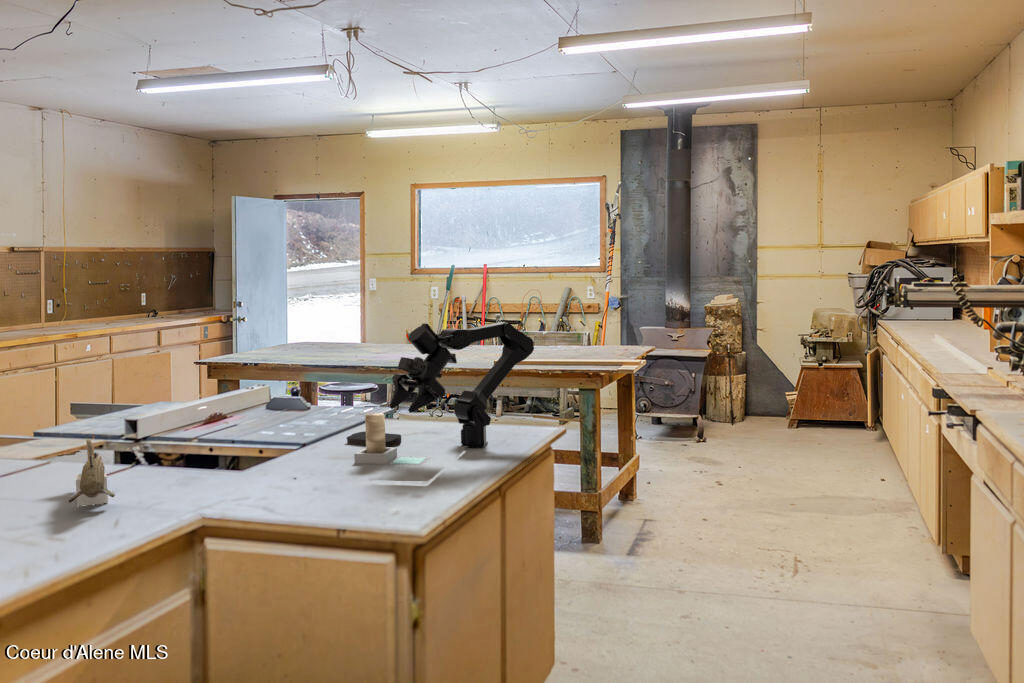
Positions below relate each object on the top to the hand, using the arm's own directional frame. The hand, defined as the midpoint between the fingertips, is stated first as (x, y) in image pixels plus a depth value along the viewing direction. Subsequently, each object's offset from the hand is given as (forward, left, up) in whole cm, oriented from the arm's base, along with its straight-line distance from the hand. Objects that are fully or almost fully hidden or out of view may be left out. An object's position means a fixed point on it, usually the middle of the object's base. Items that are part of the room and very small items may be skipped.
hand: (400, 409), depth 221 cm
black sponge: (+13, -15, -14) cm, 25 cm away
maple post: (+5, +6, -12) cm, 15 cm away
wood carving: (+57, +48, -14) cm, 75 cm away
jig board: (0, +6, -13) cm, 15 cm away
